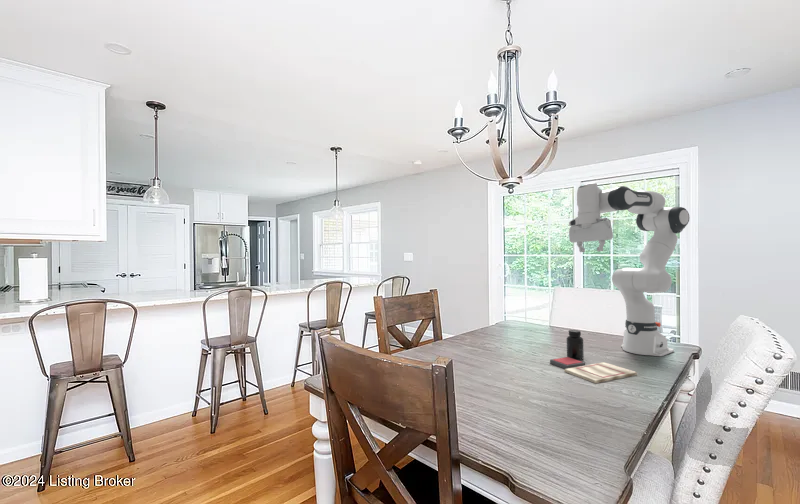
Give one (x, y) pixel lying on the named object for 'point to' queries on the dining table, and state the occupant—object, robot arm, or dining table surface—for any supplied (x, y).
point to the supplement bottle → (575, 345)
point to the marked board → (600, 372)
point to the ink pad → (567, 362)
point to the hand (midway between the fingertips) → (591, 251)
